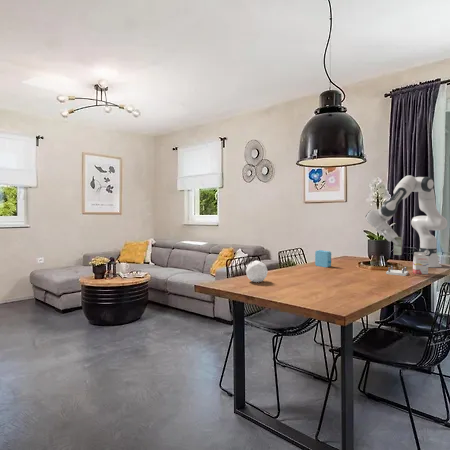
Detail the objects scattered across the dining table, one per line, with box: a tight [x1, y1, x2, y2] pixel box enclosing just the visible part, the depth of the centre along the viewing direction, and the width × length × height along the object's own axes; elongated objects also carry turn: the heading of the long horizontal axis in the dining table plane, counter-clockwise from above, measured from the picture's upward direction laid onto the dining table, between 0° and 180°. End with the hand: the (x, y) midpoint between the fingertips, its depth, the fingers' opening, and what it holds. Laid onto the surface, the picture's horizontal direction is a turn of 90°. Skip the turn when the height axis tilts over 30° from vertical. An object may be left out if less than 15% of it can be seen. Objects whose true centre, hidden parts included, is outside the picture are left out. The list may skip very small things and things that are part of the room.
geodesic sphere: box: [245, 259, 268, 283], centre depth 228 cm, size 14×14×14 cm
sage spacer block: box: [393, 236, 403, 256], centre depth 254 cm, size 4×4×12 cm
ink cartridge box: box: [412, 251, 429, 275], centre depth 255 cm, size 9×5×15 cm, turn 84°
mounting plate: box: [385, 268, 409, 277], centre depth 255 cm, size 12×12×2 cm
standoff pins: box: [387, 265, 407, 273], centre depth 255 cm, size 10×10×3 cm
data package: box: [314, 249, 332, 268], centre depth 285 cm, size 12×4×12 cm, turn 37°
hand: (399, 244), depth 254 cm, fingers closed on sage spacer block, 4 cm apart
